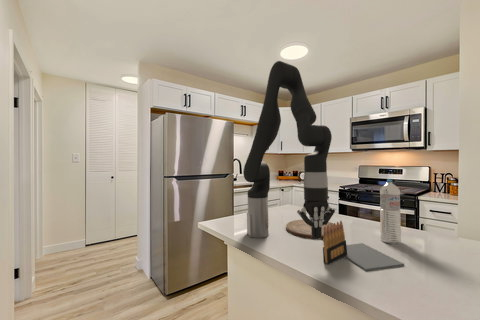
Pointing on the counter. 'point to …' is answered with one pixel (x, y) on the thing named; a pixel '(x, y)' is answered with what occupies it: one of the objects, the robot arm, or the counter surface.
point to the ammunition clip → (334, 243)
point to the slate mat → (369, 258)
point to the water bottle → (390, 213)
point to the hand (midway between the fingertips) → (316, 237)
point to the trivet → (303, 229)
